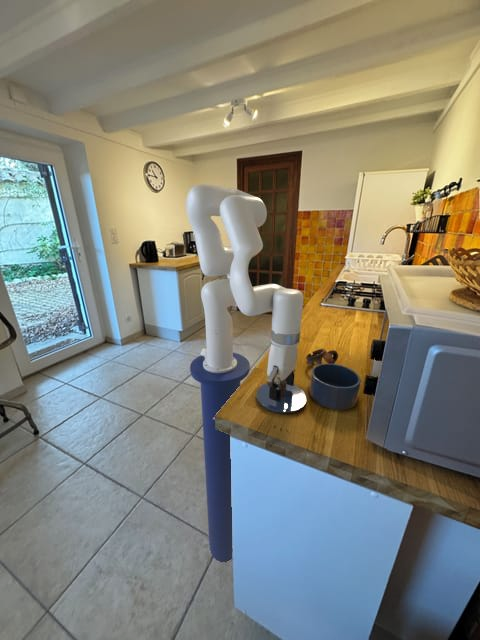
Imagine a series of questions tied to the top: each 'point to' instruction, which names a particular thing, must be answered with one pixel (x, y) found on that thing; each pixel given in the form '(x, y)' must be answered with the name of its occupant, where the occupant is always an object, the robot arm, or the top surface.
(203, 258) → the robot arm
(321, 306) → the top surface
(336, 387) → the bowl
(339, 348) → the top surface
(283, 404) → the bowl lid
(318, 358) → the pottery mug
